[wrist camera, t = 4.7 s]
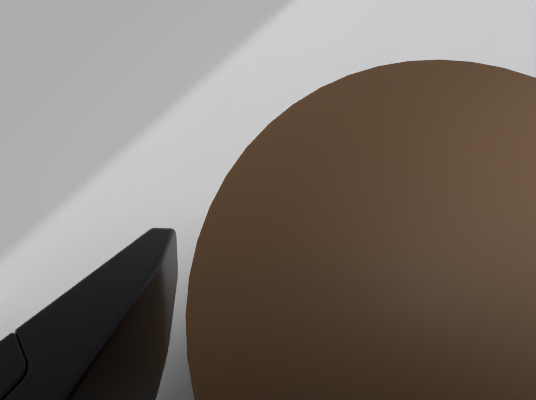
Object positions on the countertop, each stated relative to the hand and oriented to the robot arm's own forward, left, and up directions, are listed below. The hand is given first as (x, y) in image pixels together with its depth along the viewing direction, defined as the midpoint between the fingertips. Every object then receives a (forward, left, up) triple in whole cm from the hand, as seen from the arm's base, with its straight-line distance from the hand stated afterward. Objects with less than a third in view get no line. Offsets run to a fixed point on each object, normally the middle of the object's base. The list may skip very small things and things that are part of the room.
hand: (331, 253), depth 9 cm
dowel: (-1, +1, -7) cm, 7 cm away
